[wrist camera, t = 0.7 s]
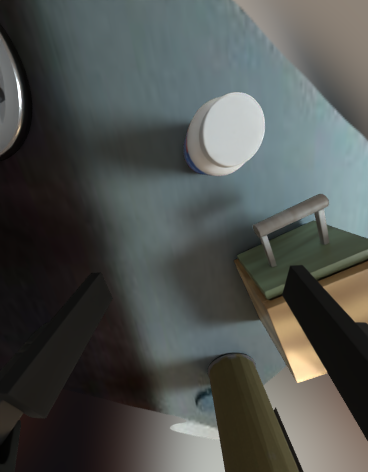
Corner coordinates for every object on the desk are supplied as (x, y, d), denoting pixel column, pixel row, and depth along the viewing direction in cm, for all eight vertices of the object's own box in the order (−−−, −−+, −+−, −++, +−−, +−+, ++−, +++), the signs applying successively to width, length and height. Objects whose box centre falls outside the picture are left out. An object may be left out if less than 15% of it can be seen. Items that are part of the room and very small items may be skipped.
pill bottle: (176, 133, 18) (177, 92, 9) (222, 115, 18) (271, 54, 9) (191, 181, 20) (204, 187, 11) (232, 166, 20) (281, 160, 11)
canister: (205, 383, 36) (237, 606, 17) (210, 353, 32) (258, 596, 14) (251, 381, 37) (329, 594, 18) (261, 352, 33) (373, 582, 14)
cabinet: (233, 260, 25) (266, 309, 16) (313, 223, 23) (401, 255, 14) (260, 320, 30) (297, 383, 21) (328, 293, 28) (399, 349, 19)
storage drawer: (221, 221, 21) (246, 246, 14) (305, 180, 20) (380, 184, 13) (262, 315, 28) (293, 364, 21) (327, 289, 27) (384, 332, 19)
